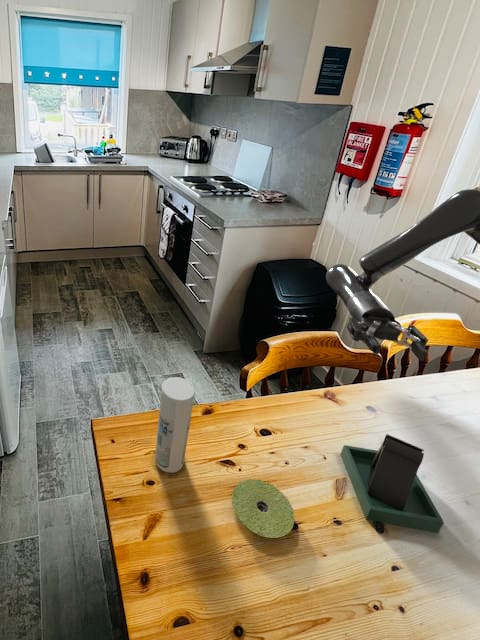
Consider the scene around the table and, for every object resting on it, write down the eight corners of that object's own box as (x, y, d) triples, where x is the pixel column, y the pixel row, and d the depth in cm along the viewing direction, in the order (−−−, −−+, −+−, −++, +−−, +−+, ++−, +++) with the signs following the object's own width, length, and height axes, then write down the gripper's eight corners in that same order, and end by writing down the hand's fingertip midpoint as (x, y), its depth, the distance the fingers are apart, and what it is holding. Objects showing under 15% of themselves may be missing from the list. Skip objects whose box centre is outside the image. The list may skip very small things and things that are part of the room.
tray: (401, 464, 86) (405, 455, 85) (438, 533, 73) (444, 522, 72) (340, 454, 88) (343, 444, 87) (365, 519, 75) (370, 509, 74)
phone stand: (371, 462, 85) (388, 421, 80) (404, 478, 82) (424, 436, 77) (366, 494, 79) (385, 451, 74) (402, 512, 75) (424, 469, 71)
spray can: (149, 450, 87) (157, 379, 79) (177, 444, 89) (186, 374, 81) (160, 476, 81) (169, 403, 73) (189, 469, 83) (200, 397, 75)
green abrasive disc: (281, 558, 68) (284, 551, 67) (221, 517, 74) (222, 510, 73) (299, 508, 76) (301, 501, 76) (243, 475, 83) (244, 468, 82)
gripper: (341, 295, 94) (368, 333, 80) (406, 302, 92) (446, 343, 78) (333, 321, 97) (358, 363, 83) (396, 329, 95) (432, 373, 81)
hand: (400, 353), depth 80 cm, fingers open, 8 cm apart
